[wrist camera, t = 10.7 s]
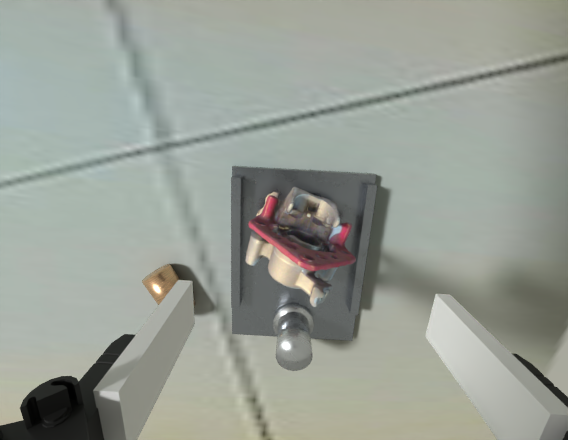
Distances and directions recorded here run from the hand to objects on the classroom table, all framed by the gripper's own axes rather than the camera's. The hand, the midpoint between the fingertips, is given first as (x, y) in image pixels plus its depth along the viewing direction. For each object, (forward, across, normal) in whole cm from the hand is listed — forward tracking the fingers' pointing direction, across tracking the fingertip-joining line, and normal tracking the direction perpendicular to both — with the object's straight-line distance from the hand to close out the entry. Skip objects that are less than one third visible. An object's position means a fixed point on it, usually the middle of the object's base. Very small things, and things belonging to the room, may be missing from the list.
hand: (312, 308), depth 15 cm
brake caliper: (+18, 0, -2) cm, 18 cm away
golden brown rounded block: (+19, -16, -11) cm, 27 cm away
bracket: (+18, 0, -6) cm, 19 cm away
